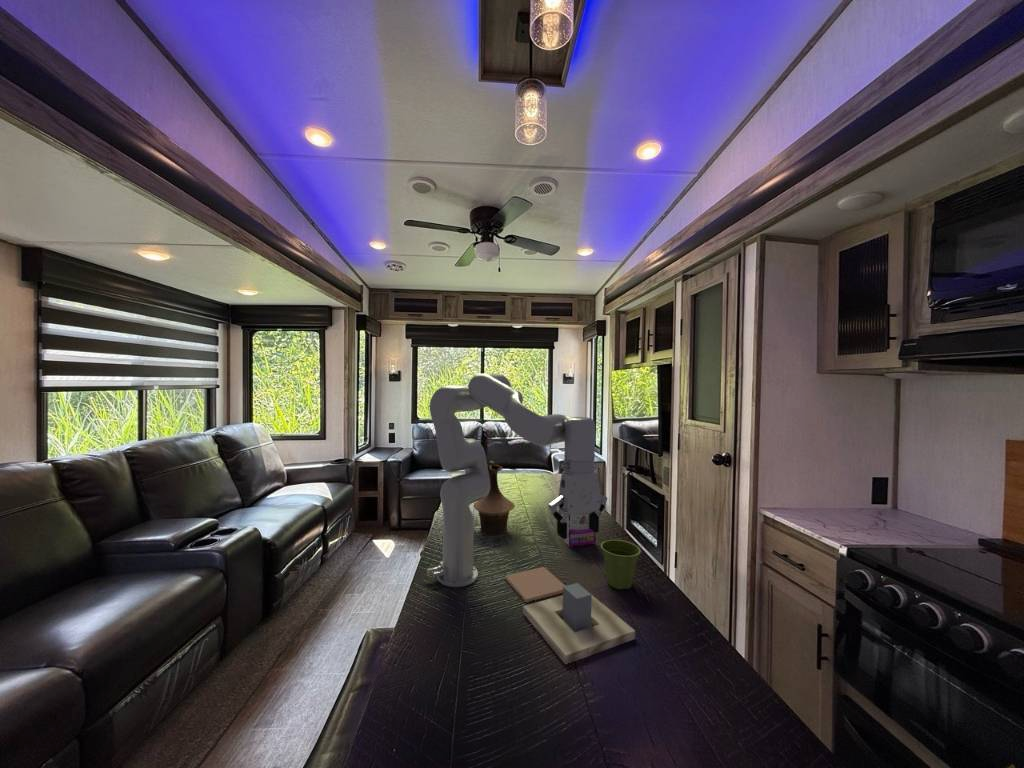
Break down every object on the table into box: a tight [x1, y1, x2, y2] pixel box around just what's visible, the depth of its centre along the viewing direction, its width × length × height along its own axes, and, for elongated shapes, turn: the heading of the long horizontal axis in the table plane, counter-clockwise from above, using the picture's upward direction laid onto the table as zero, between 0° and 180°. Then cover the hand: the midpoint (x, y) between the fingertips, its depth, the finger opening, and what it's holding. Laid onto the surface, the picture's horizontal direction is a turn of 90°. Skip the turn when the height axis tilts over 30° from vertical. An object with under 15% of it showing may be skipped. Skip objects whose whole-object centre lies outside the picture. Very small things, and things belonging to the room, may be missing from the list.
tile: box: [504, 566, 566, 603], centre depth 115 cm, size 14×14×1 cm
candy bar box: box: [563, 513, 597, 548], centre depth 146 cm, size 11×5×16 cm, turn 105°
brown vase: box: [473, 460, 516, 536], centre depth 157 cm, size 18×17×28 cm
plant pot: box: [600, 539, 642, 590], centre depth 117 cm, size 12×12×11 cm
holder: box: [522, 594, 636, 665], centre depth 97 cm, size 20×20×2 cm
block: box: [561, 582, 593, 632], centre depth 97 cm, size 4×6×9 cm
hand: (578, 533), depth 96 cm, fingers open, 9 cm apart
